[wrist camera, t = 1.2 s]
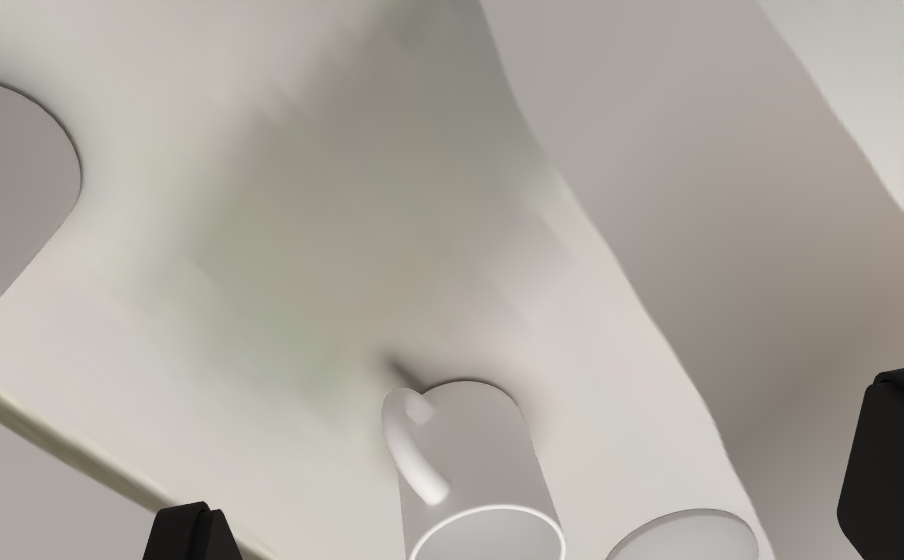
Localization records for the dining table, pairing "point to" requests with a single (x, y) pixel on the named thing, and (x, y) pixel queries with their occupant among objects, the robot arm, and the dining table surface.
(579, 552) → the dining table surface
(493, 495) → the mug
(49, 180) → the milk bottle
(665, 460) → the dining table surface
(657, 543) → the candlestick
